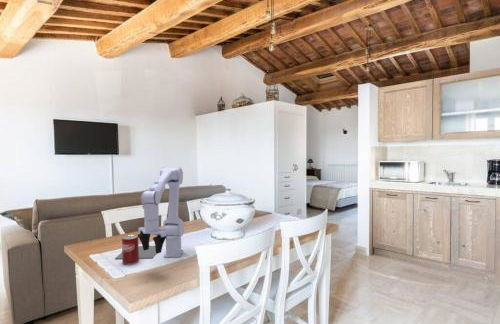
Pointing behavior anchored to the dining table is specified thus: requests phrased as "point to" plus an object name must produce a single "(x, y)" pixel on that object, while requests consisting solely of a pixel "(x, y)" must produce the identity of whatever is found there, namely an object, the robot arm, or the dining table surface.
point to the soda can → (130, 249)
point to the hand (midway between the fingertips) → (152, 251)
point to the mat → (143, 253)
